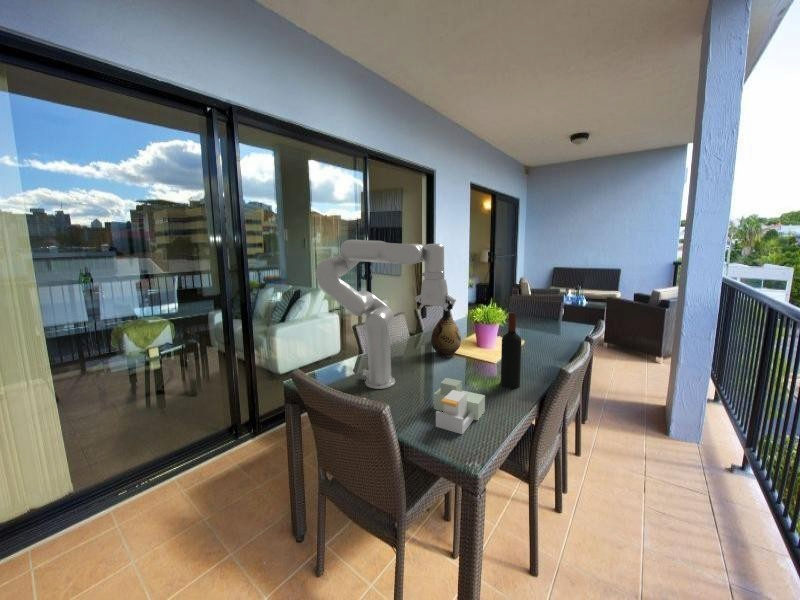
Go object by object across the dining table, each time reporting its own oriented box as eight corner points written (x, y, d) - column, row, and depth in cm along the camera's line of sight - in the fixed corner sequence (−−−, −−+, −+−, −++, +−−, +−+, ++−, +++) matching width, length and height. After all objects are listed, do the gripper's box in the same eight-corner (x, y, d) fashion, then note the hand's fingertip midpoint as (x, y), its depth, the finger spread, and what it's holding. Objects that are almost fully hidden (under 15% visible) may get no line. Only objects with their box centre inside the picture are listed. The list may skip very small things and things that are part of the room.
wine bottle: (497, 385, 139) (498, 313, 134) (506, 379, 144) (508, 310, 139) (514, 390, 134) (516, 315, 129) (523, 384, 139) (526, 312, 134)
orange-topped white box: (441, 427, 108) (441, 400, 107) (452, 414, 116) (452, 389, 114) (455, 431, 106) (455, 404, 104) (466, 418, 113) (466, 392, 111)
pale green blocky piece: (420, 422, 112) (420, 393, 110) (442, 401, 126) (442, 375, 125) (466, 435, 104) (467, 405, 102) (484, 411, 118) (485, 384, 116)
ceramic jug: (463, 359, 170) (463, 300, 165) (432, 359, 170) (431, 301, 165) (458, 348, 187) (458, 294, 182) (430, 349, 187) (429, 295, 182)
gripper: (410, 276, 133) (411, 319, 136) (451, 277, 124) (451, 323, 127) (419, 274, 139) (420, 315, 142) (459, 275, 130) (459, 319, 133)
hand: (434, 319), depth 134 cm, fingers open, 9 cm apart
